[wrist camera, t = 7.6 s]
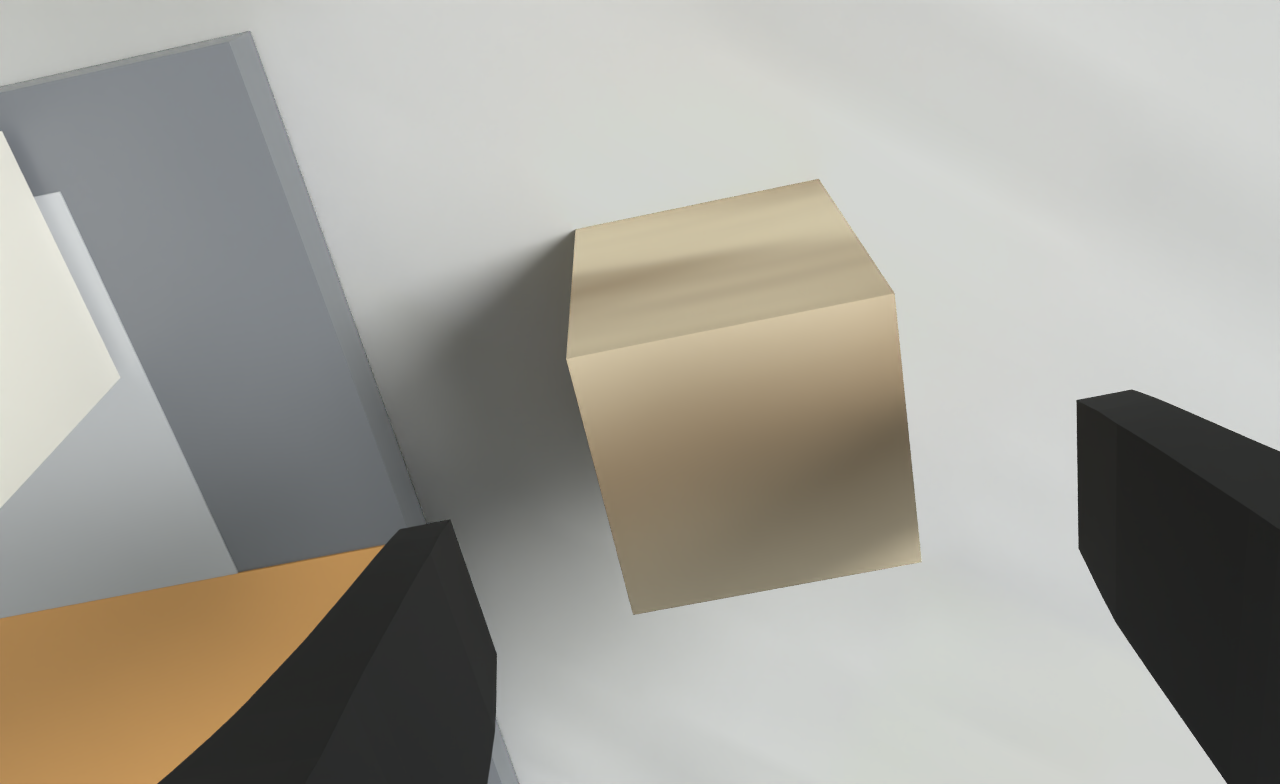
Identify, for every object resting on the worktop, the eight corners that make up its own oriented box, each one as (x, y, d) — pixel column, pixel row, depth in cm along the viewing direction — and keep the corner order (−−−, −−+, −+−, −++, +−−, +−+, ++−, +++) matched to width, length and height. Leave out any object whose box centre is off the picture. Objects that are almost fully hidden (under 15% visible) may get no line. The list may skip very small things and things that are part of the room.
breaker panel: (532, 821, 23) (529, 860, 22) (19, 908, 24) (-4, 950, 23) (250, 30, 16) (228, 42, 15) (-490, 196, 16) (-555, 216, 15)
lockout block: (846, 394, 19) (921, 562, 14) (626, 437, 19) (632, 614, 15) (817, 178, 17) (895, 292, 13) (575, 228, 17) (566, 358, 13)
